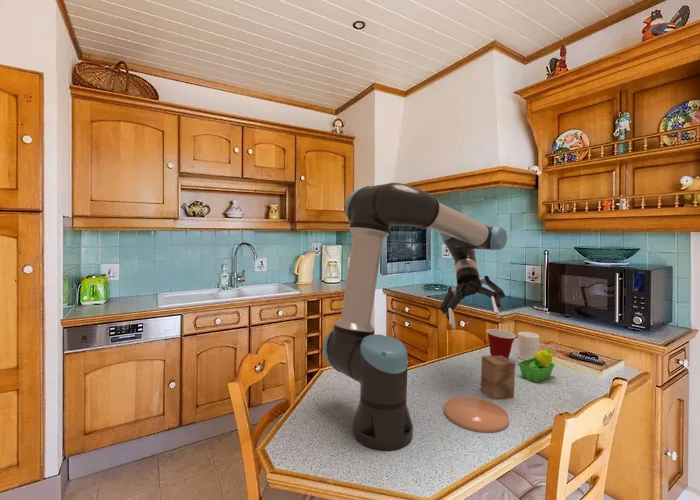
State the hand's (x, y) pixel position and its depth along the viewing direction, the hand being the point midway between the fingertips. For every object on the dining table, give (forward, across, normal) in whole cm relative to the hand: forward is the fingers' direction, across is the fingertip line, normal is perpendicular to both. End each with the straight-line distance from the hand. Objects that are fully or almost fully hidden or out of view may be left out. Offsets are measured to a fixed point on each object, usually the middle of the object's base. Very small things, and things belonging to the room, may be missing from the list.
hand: (474, 320), depth 103 cm
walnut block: (+8, +3, -26) cm, 27 cm away
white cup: (-22, -5, -53) cm, 58 cm away
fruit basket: (-5, -8, -42) cm, 43 cm away
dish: (+21, +7, -14) cm, 26 cm away
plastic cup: (-16, +4, -44) cm, 47 cm away
